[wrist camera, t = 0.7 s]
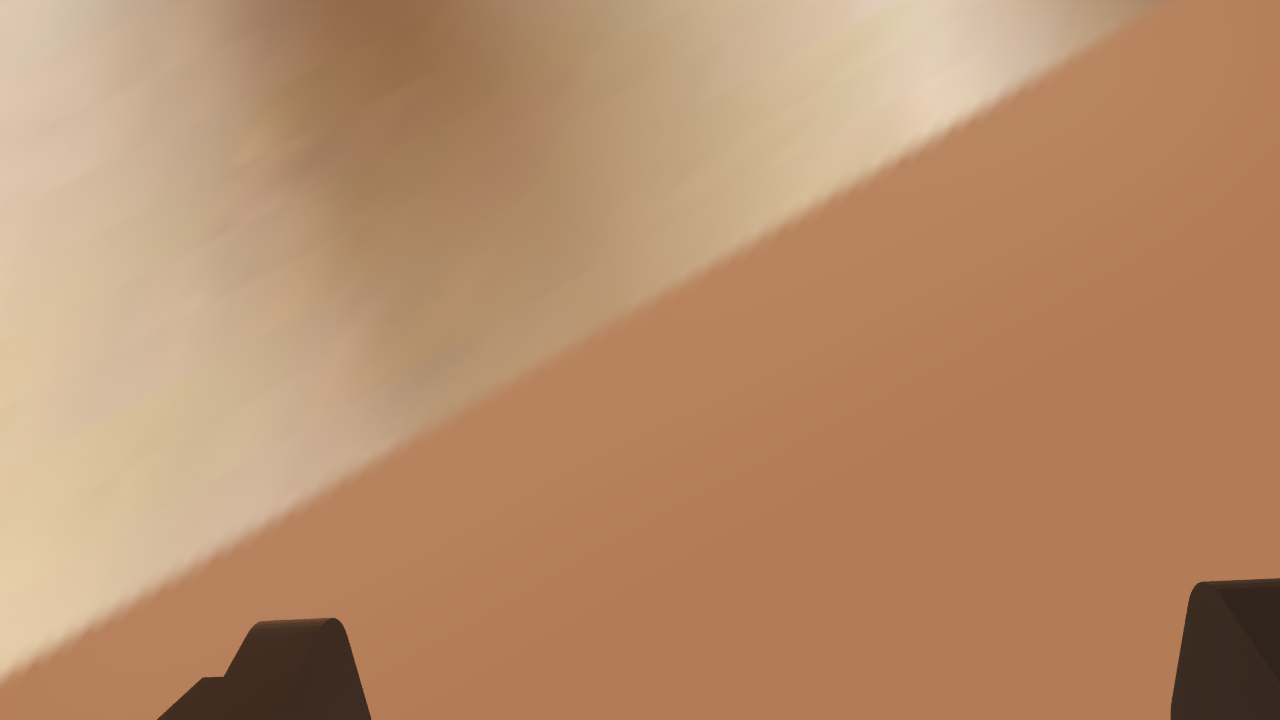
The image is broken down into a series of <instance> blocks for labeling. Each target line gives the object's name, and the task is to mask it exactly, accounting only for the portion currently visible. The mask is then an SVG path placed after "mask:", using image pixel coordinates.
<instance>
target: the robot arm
mask: <svg viewBox="0 0 1280 720" xmlns="http://www.w3.org/2000/svg"><path fill="white" fill-rule="evenodd" d="M157 720H371V716H370V713H369V709H368V706H367V703H366V699H365V696H364V692H363V689H362V685H361V682H360V678H359V675H358V671H357V668H356V665H355V661H354V657H353V654H352V650H351V647H350V644H349V640H348V637H347V634H346V631H345V629H344V627H343V625H342V623H341V622H340V621H339V620H337V619H336V618H321V619H298V620H274V621H261V622H258V623H257V624H255V625H254V626H253V627H252V628H251V629H250V631H249V633H248V634H247V636H246V638H245V639H244V641H243V643H242V645H241V647H240V649H239V650H238V652H237V654H236V656H235V658H234V659H233V661H232V663H231V665H230V666H229V668H228V670H227V672H226V674H225V675H224V677H209V678H208V677H205V678H202V679H201V680H200V681H198V682H197V683H196V684H195V685H194V686H193V687H192V688H191V689H190V690H189V691H188V692H187V693H185V694H184V695H183V696H182V697H181V698H180V699H179V700H178V701H177V702H176V703H175V704H173V705H172V707H170V708H169V709H168V710H167V711H166V712H165V713H164V714H163V715H162V716H160V717H159V718H158V719H157ZM1171 720H1280V578H1277V579H1254V580H1232V581H1210V582H1200V583H1198V584H1197V585H1196V586H1195V587H1194V588H1193V590H1192V592H1191V595H1190V599H1189V603H1188V608H1187V614H1186V620H1185V626H1184V632H1183V638H1182V644H1181V650H1180V656H1179V662H1178V667H1177V674H1176V679H1175V685H1174V691H1173V697H1172V703H1171Z"/></svg>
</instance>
